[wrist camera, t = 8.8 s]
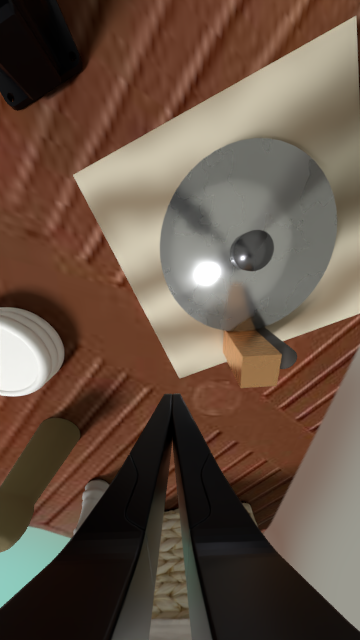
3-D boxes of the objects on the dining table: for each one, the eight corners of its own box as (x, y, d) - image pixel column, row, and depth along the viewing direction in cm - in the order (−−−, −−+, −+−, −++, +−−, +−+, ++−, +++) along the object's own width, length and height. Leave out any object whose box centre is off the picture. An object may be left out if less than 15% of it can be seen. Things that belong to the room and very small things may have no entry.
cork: (82, 422, 25) (16, 536, 15) (78, 448, 27) (18, 565, 17) (39, 414, 25) (-61, 528, 14) (38, 442, 27) (-49, 559, 16)
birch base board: (82, 182, 15) (19, 132, 9) (336, 42, 13) (486, -160, 6) (179, 370, 22) (180, 413, 16) (353, 306, 20) (433, 328, 14)
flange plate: (151, 154, 13) (134, 84, 8) (345, 141, 13) (461, 62, 8) (170, 355, 19) (167, 392, 14) (301, 347, 19) (349, 381, 14)
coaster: (-5, 288, 18) (-44, 294, 15) (80, 337, 21) (62, 352, 17) (-31, 352, 21) (-69, 370, 18) (47, 390, 23) (26, 411, 20)
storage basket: (150, 546, 39) (136, 704, 25) (132, 507, 34) (101, 683, 20) (255, 534, 38) (300, 692, 24) (254, 493, 33) (312, 667, 19)
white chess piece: (91, 475, 30) (62, 549, 22) (115, 482, 30) (95, 556, 23) (82, 488, 31) (52, 563, 23) (106, 495, 32) (84, 569, 24)
